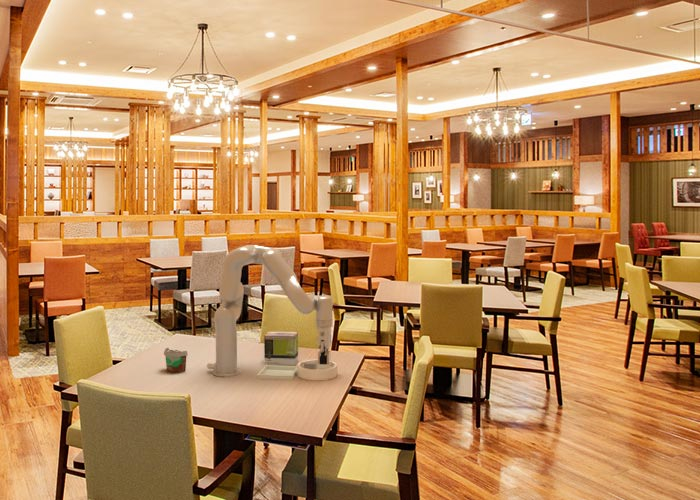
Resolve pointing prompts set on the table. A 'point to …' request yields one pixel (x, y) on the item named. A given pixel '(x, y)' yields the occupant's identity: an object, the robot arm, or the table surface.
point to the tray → (277, 372)
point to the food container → (175, 360)
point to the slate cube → (310, 365)
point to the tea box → (281, 348)
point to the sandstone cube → (327, 357)
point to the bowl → (317, 371)
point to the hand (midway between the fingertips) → (324, 362)
